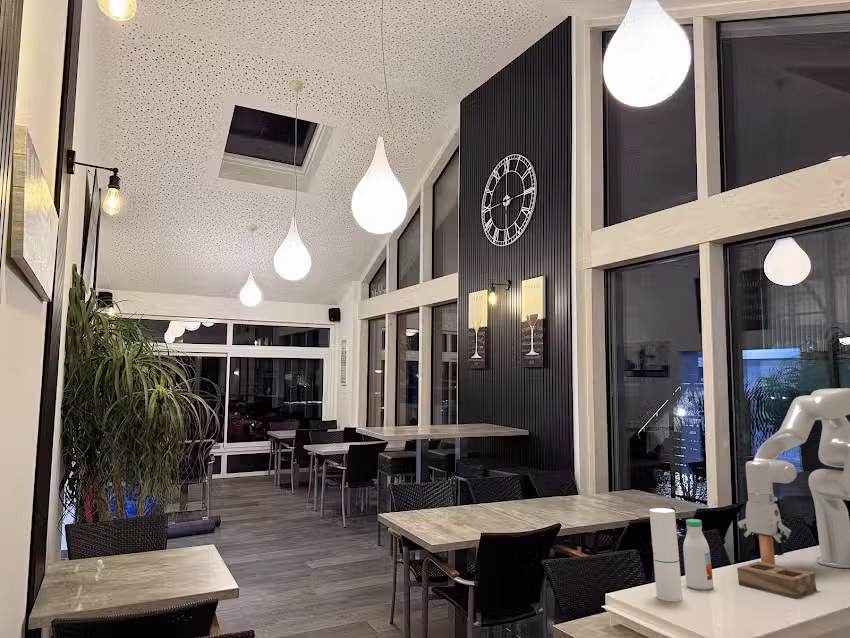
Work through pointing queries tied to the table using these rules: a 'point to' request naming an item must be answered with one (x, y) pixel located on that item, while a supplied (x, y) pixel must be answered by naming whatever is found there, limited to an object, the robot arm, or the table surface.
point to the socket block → (777, 579)
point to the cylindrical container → (665, 554)
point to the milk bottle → (697, 557)
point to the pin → (766, 549)
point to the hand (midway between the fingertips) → (765, 551)
